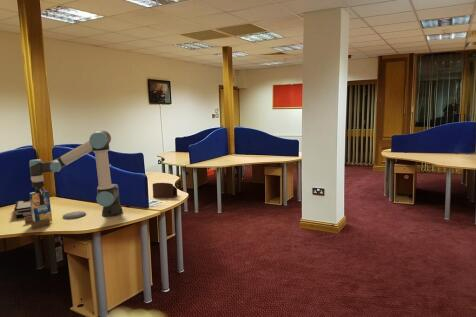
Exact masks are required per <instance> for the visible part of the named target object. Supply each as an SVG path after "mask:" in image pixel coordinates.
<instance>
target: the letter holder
mask: <svg viewBox="0 0 476 317" xmlns="http://www.w3.org/2000/svg"><path fill="white" fill-rule="evenodd" d="M177 196H178V188H177V187H176V186H175V185H174V184H173V183H171V182H154V183H152V198H153V199H175V198H176V197H177Z"/></svg>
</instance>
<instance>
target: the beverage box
mask: <svg viewBox="0 0 476 317" xmlns="http://www.w3.org/2000/svg"><path fill="white" fill-rule="evenodd" d="M43 192H44V204H43V205H40V198H39V193H36V192H35V191H34V192H33V191H32V192H29V193H28V196H29V201H30V204H31V211H32V215H31V216H32V219H33V222H35V221H39V220H44V219H48V218H49V221H50V222H53V217H52V216H53V214H52V208H51V200H50V192H49V190H46V189H45V190H43Z"/></svg>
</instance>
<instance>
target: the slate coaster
mask: <svg viewBox="0 0 476 317" xmlns="http://www.w3.org/2000/svg"><path fill="white" fill-rule="evenodd" d="M86 215H87V213H86V212H85V211H81V210H80V211H72V212H68V213H65V214H63V215H62V219H64V220H73V219H74V220H76V219H80V218H83V217H85V216H86Z"/></svg>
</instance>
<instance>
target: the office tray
mask: <svg viewBox="0 0 476 317" xmlns="http://www.w3.org/2000/svg"><path fill="white" fill-rule="evenodd" d="M13 210H14V216H15V217H16V219H21V217H23V218H24V217H28V216H32V211H31V204H30V200H28V201H24V200H19V201H15V205H14V208H13Z"/></svg>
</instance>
